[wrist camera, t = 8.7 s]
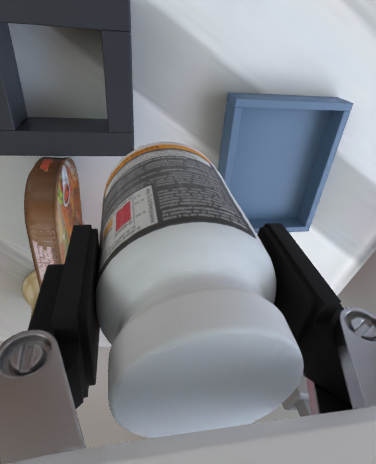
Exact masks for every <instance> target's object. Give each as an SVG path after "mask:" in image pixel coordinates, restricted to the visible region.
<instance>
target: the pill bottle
mask: <svg viewBox="0 0 376 464" xmlns="http://www.w3.org/2000/svg"><path fill="white" fill-rule="evenodd" d="M95 284H96V291H95V304H96V314H97V319H98V322H99V325H100V328H101V330H102V332H103V334H104V335H105V337H106V338H107V340H108V341H109V342H110V343H111V345H112V347H111V350H110V353H109V364H108V400H109V407H110V410H111V413H112V415H113V417H114V419H115V420H116V421H117V422H118V423H119V424H120V425H121V426H122V427H124V428H125V429H127V430H128V431H131V432H133V433H135V434H137V435H140V436H144V437H148V438H158V437H164V436H171V435H178V434H185V433H191V432H198V431H205V430H212V429H218V428H225V427H232V426H239V425H246V424H249V423H251V422H254V421H256V420H257V419H259V418H262V417H263V416H265V415H266V414H268V413H270V412H271V411H273V410H274V409H275V408H277V407H278V406H279V405H280V404H282V403H283V402H284V401H285V400H286V399H287V398H288V397H289V396H290V395H291V394H292V393H293V392H294V390H295V389H296V387H297V386H298V385H299V383H300V381H301V378H302V375H303V368H304V362H303V357H302V354H301V351H300V349H299V347H298V345H297V342H296V340H295V338H294V336H293V334H292V332H291V330H290V328H289V326H288V324H287V322H286V320H285V317H284V316H283V314H282V313H281V312H280V310H279V309H278V308H277V307H276V306H275V305H273V304H274V301H275V296H276V275H275V270H274V267H273V264H272V261H271V258H270V256H269V254H268V253H267V251H266V250H265V247H264V245H263V243H262V242H261V240H260V239H259V237H258V236H257V234H256V232H255V231H254V229H253V227H252V225H251V224H250V222H249V220H248V219H247V217H246V216H245V214H244V212H243V211H242V209H241V207H240V206H239V205H238V203H237V202H236V200H235V198H234V197H233V195H232V194H231V192H230V190H229V188H228V186H227V184H226V183H225V181H224V179H223V178H222V176H221V174H220V173H219V172H218V170H217V169H216V168H215V166H214V165H213V164H212V163H211V161H210V160H209V159H208V158H207V157H206V156H204V155H203V154H202V153H201V152H199V151H197V150H196V149H194V148H191V147H189V146H187V145H183V144H179V143H174V142H159V143H152V144H148V145H145V146H142V147H139V148H137V149H135V150H134V151H132V152H131V153H129V154H127V155H126V156H125V157H124V158H123V159H122V160H120V162H119V163H118V164H117V165H116V166H115V168H114V169H113V171H112V172H111V174H110V176H109V178H108V181H107V184H106V187H105V191H104V198H103V209H102V221H101V231H100V244H99V256H98V268H97V279H96V283H95Z"/></svg>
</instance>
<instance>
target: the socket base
mask: <svg viewBox="0 0 376 464" xmlns="http://www.w3.org/2000/svg"><path fill="white" fill-rule="evenodd" d="M8 23H18V24H31V25H44V26H57V27H70V28H84V29H97V30H102V31H101V32H102V46H103V59H104V73H105V87H106V101H107V115H108V119H80V118H42V117H27V112H26V107H25V102H24V97H23V93H22V88H21V83H20V79H19V74H18V69H17V64H16V60H15V55H14V50H13V46H12V41H11V36H10V31H9V27H8ZM132 151H134V125H133V88H132V51H131V14H130V0H0V155H14V156H126V155H127V154H129V153H131V152H132Z"/></svg>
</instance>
